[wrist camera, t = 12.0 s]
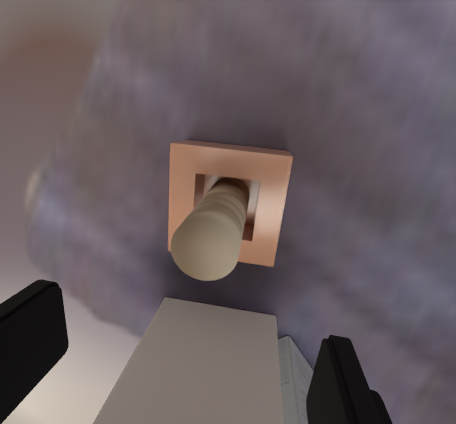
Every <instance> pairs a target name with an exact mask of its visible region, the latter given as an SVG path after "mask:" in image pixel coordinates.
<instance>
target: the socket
mask: <svg viewBox="0 0 456 424" xmlns="http://www.w3.org/2000/svg"><path fill="white" fill-rule="evenodd" d="M292 161H293V156H292V155H291V154H290V153H289V152H288V151H285V150H276V149H267V148H258V147H249V146H240V145H231V144H222V143H213V142H204V141H195V140H182V141H177V142H172V143H170V177H169V224H168V251H171V240H172V236H173V234H174V232H175V231H176V229H177V228H178V227H179V226H180V225H181V223H182V222H183V221H184V220H185V219H186V217H187V216H188V215H189V214H190V213H191V211H192V210H193V209H194V208H195V207H196V205H197V204H198V203H199V202H200V201H201V199H202V198H203V197H204V196H205V195H206V193H207V192H208V191H209V190H210V189H211V187H212V186H213V185H214V184H215V182H217V181H218V180H219V179H221V178H223V177H231V178H238V179H240V180H242V181H243V182H244V183H245V184H246V186H247V187H248V190H249V193H250V199H249V204H248V210H247V215H246V220H245V226H244V231H243V236H242V242H241V247H240V252H239V257H238V261H237V262H244V263H251V264H257V265H264V266H270V267H273V266H274V261H275V255H276V250H277V244H278V239H279V233H280V228H281V222H282V216H283V211H284V205H285V200H286V194H287V189H288V183H289V177H290V172H291V166H292Z"/></svg>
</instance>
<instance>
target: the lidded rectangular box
mask: <svg viewBox="0 0 456 424" xmlns="http://www.w3.org/2000/svg"><path fill="white" fill-rule="evenodd" d="M93 424H284V420H283V406H282V392H281V378H280V364H279V350H278V336H277V322H276V316H274V315H268V314H263V313H257V312H251V311H245V310H239V309H233V308H227V307H221V306H215V305H209V304H203V303H197V302H191V301H185V300H179V299H174V298H168V297H165V298H164V300H163V301H162V303H161V305H160V307H159V308H158V310H157V312H156V314H155V315H154V317H153V319H152V321H151V323H150V324H149V326H148V328H147V330H146V331H145V333H144V335H143V337H142V338H141V340H140V342H139V344H138V345H137V347H136V349H135V351H134V352H133V354H132V356H131V358H130V359H129V361H128V363H127V365H126V366H125V368H124V370H123V372H122V374H121V375H120V377H119V379H118V381H117V382H116V384H115V386H114V388H113V389H112V391H111V393H110V395H109V396H108V398H107V400H106V402H105V403H104V405H103V407H102V409H101V410H100V412H99V414H98V416H97V417H96V419H95V421H94V423H93Z"/></svg>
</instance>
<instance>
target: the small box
mask: <svg viewBox="0 0 456 424" xmlns="http://www.w3.org/2000/svg"><path fill="white" fill-rule="evenodd" d="M278 350H279V364H280V378H281V392H282V406H283V420H284V424H308V419H307V411H306V398H307V394H308V390H309V386H310V383H311V379H312V376H313V372H314V371H313V370H312V368H311V367H310V365H309V364H308V362H307V361H306V359H305V358H304V356H303V355H302V353H301V352H300V351H299V349H298V348H297V346H296V345H295V343H294V342H293V340H292V339H291V338H290V336H285V337H283V338H280V339H278Z"/></svg>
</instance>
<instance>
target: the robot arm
mask: <svg viewBox="0 0 456 424" xmlns="http://www.w3.org/2000/svg"><path fill="white" fill-rule="evenodd" d="M67 349H68V336H67V329H66V321H65V313H64V305H63V297H62V290H61V288H60V287H59V285H58V284H57V283H56V282H52V281H47V280H37V281H35V282H34V283H32V284H30V285H29V286H27V287H26V288H24V289H23V290H21V291H20V292H18V293H17V294H15V295H13V296H12V297H11V298H9V299H7V300H6V301H4V302H3V303H1V304H0V424H1V423H2V422H3V421H4V420H5V419H6V418H7V416H9V415H10V414H11V412H12V411H13V410H14V409H15V408H16V407H17V406H18V405H19V403H20V402H21V401H22V400H23V399H24V398H25V397H26V396H27V395H28V394H29V393H30V391H31V390H32V389H33V388H34V387H35V386H36V385H37V384H38V383H39V382H40V381H41V379H42V378H43V377H44V376H45V375H46V374H47V373H48V372H49V371H50V370H51V369H52V368H53V366H54V365H55V364H56V363H57V362H58V361H59V360H60V359H61V358H62V356H63V355H64V354H65V353H66V351H67ZM306 411H307V419H308V424H392V421H391V419H390V417H389V414H388V412H387V410H386V407H385V405H384V402H383V400H382V398H381V396H380V395H379V394H378V393H377V392H376V391H374V390H370V389H369V386H368V384H367V381H366V379H365V376H364V373H363V371H362V368H361V366H360V363H359V360H358V358H357V355H356V353H355V350H354V347H353V345H352V342H351V340H350V339H349V338H345V337H340V336H334V335H330V336H329V338H328V339H325V338H324V339H323V340H322V343H321V347H320V350H319V354H318V358H317V361H316V365H315V368H314V372H313V376H312V379H311V383H310V386H309V390H308V394H307V398H306Z"/></svg>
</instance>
